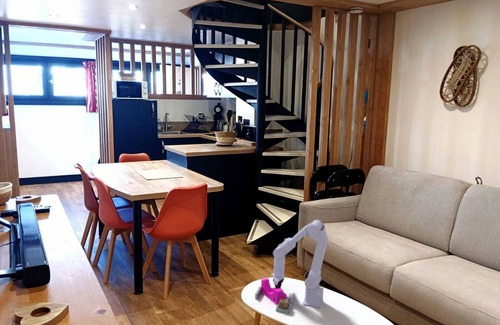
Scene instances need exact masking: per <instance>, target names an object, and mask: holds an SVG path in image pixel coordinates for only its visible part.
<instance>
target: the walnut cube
mask: <svg viewBox="0 0 500 325" xmlns="http://www.w3.org/2000/svg"><path fill="white" fill-rule="evenodd" d="M288 304H289V299H288V298H286V299H283V298H281V299H280V301H279V308H280V309H285V310H287V308H288Z"/></svg>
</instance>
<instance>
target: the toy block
mask: <svg viewBox="0 0 500 325" xmlns="http://www.w3.org/2000/svg"><path fill="white" fill-rule="evenodd" d="M260 281H261V282H260V283H261V284H260V287H261V292H260V294H263V296H265V297H266V298H267V299H268V300H270V301H271V302H272V303H273V304H275V306H277V305H278V303H279V301H280V299H281V298H283V299H288V297H287V293H286V292H285V291H284V289H283V288H282V287H281V288H278V289H276V288H275V287H271V283H270V279H269V278H267V277H265V278H262V279H261V280H260Z"/></svg>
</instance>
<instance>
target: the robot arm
mask: <svg viewBox="0 0 500 325" xmlns="http://www.w3.org/2000/svg"><path fill="white" fill-rule="evenodd" d="M305 236H306V237H310V238H311V239H313V240H314V241H316V246H315V250H314V254H313V258H312V263H311V267H310V271H309V273H308V275H307V278H306V279H305V281H304V285H305V291H304V299H303V302H302V304H303V305H305V306H310V307H315V308H322V306H323V302H324V290H325V288H323V287H321V286H320V282H321V281H322V265H323V262H324V257H325V253H326V250H327V246H328V242H329V238H328V235H327V232H326V226H325V224H324V223H323V222H322V220H320V219H314V220H312V222H309V223H308V224H307V225H305V226H304V227H303V228H301V229H300V230H299V231H298V232H297V233H296V234H294V236H293V237H292V238H291V237H288V238H284V241H283V242H282V243H279V244H278V245H277V247H276V248H275V249H274V250H273V251H272V255H273V257H274V258H273V259H274V260H273V263H274V264H273V273H271V274H270V275H271V277H273V278H272V281H273V285H274V288H276V289H278V288H281V289H282V284H283V282H284V281H285V267H286V266H285V265H286V264H285V263H286V255H287V254H288V253H290V251H292V250H293V249H294V248H296V245H297V244H296V243H297V242H298V241H300V240H301V239H303V238H304V237H305Z"/></svg>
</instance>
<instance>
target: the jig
mask: <svg viewBox="0 0 500 325" xmlns="http://www.w3.org/2000/svg"><path fill="white" fill-rule="evenodd" d="M260 294H261V286H258V288H257V290H256V292H255V293H254V295H255V296H254V298H255V300H257V299H258V298H259V296H260ZM295 299H296V292H293V293H292V296H291V298H290V303H288V308H287V310H285V309H280V308H279V303H278V305H276V308H275V312H281V313H285V314H290V312H291V309H292V307H293V305H294V302H295Z"/></svg>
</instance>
